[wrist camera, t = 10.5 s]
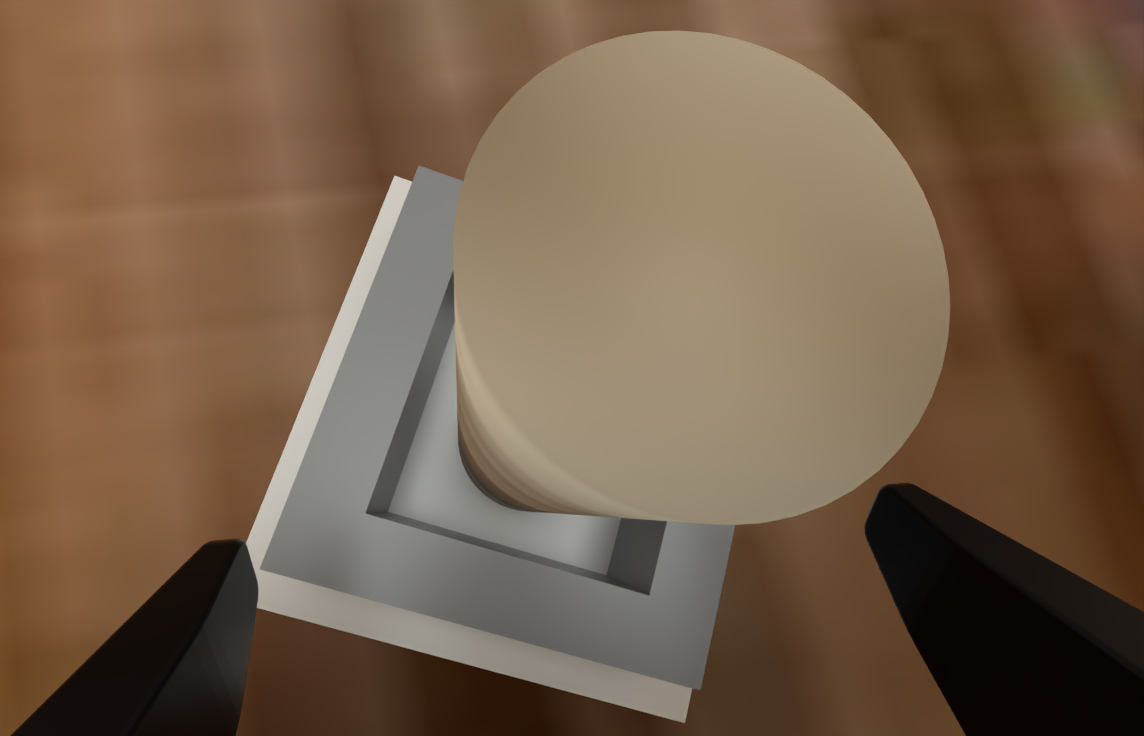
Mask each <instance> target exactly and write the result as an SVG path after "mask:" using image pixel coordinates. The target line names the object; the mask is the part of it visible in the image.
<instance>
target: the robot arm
mask: <svg viewBox="0 0 1144 736" xmlns="http://www.w3.org/2000/svg"><path fill="white" fill-rule="evenodd" d="M865 535H866V538H867V541H868V543H869V546H870V548H871V550H872V552H873V555H874V557H875V559H876V561H877V564H878V566H879V568H880V571H881V573H882V575H883V577H884V580H885V582H886V584H887V586H888V589H889V591H890V593H891V595H892V598H893V600H894V602H895V604H896V607H897V609H898V611H899V613H900V616H901V618H902V620H903V622H904V624H905V626H906V628H907V630H908V632H909V634H910V636H911V638H912V640H913V642H914V644H915V646H916V647H917V649H918V651H919V653H920V655H921V656H922V658H923V660H924V662H925V664H926V665H927V667H928V669H929V671H930V672H931V674H932V676H933V678H934V680H935V681H936V683H937V685H938V687H939V689H940V690H941V692H942V694H943V696H944V697H945V699H946V701H947V703H948V705H949V706H950V708H951V710H952V712H953V714H954V715H955V717H956V719H957V721H958V722H959V724H960V726H961V728H962V730H963V731H964V733H965V735H966V736H1144V612H1143V611H1141V610H1139V609H1137V608H1135V607H1134V606H1132V605H1130V604H1128V603H1126V602H1125V601H1123V600H1121V599H1119V598H1117V597H1116V596H1114V595H1112V594H1110V593H1108V592H1107V591H1105V590H1103V589H1101V588H1099V587H1098V586H1096V585H1094V584H1092V583H1090V582H1089V581H1087V580H1085V579H1083V578H1081V577H1079V576H1078V575H1076V574H1074V573H1072V572H1070V571H1069V570H1067V569H1065V568H1063V567H1061V566H1060V565H1058V564H1056V563H1054V562H1052V561H1051V560H1049V559H1047V558H1045V557H1043V556H1042V555H1040V554H1038V553H1036V552H1034V551H1033V550H1031V549H1029V548H1027V547H1025V546H1024V545H1022V544H1020V543H1018V542H1016V541H1015V540H1013V539H1011V538H1009V537H1007V536H1006V535H1004V534H1002V533H1000V532H998V531H997V530H995V529H993V528H991V527H989V526H988V525H986V524H984V523H982V522H980V521H979V520H977V519H975V518H973V517H971V516H970V515H968V514H966V513H964V512H962V511H961V510H959V509H957V508H955V507H953V506H952V505H950V504H948V503H946V502H944V501H943V500H941V499H939V498H937V497H935V496H934V495H932V494H930V493H928V492H926V491H925V490H923V489H921V488H919V487H917V486H915V485H913V484H910V483H899V484H887V485H884V486H883V487H882V488H881V489H880V490H879V492H878V494H877V496H876V498H875V501H874V503H873V505H872V507H871V510H870V512H869V514H868V517H867V519H866V522H865ZM257 603H258V581H257V577H256V574H255V571H254V567H253V564H252V561H251V557H250V554H249V551H248V547H247V545H246V543H245V542H244V541H243V540H242V539H227V540H215V541H210V542H207V543H206V544H204V545H203V546H202V547H201V548H200V549H199V550H198V551H197V552H196V553H195V554H194V555H193V556H192V557H190V558H189V559H188V560H187V561H186V562H185V563H184V564H183V565H182V566H181V567H180V568H179V569H178V570H177V571H176V572H175V573H174V574H173V575H172V576H171V577H170V578H169V579H168V580H167V581H166V582H165V583H164V584H163V585H162V586H161V587H160V588H159V589H158V590H157V591H156V592H155V593H154V594H153V595H152V596H151V597H150V598H149V599H148V600H147V601H146V602H145V603H144V604H143V605H142V606H141V607H140V608H139V609H138V610H137V611H136V612H135V613H134V614H133V615H132V616H131V617H130V618H129V619H128V620H127V621H126V622H125V623H124V624H123V625H122V626H121V627H120V628H119V629H118V630H117V631H116V632H115V633H114V634H113V635H112V636H111V637H110V638H109V639H108V640H107V641H106V642H105V643H104V644H103V645H102V646H101V647H100V648H99V649H97V650H96V651H95V652H94V653H93V654H92V655H91V656H90V657H89V658H88V659H87V660H86V661H85V662H84V663H83V664H82V665H81V666H80V667H79V668H78V669H77V670H76V671H75V672H74V673H73V674H72V675H71V676H70V677H69V678H68V679H67V680H66V681H65V682H64V683H63V684H62V685H61V686H60V687H59V688H58V689H57V690H56V691H55V692H54V693H53V694H52V695H51V696H50V697H49V698H48V699H47V700H46V701H45V702H44V703H43V704H42V705H41V706H40V707H39V708H38V709H37V710H36V711H35V712H34V713H33V714H32V715H31V716H30V717H29V718H28V719H27V720H26V721H25V722H24V723H23V724H22V725H21V726H20V727H19V728H18V729H17V730H16V731H15V732H14V733H13V734H12V735H11V736H236V731H237V727H238V723H239V719H240V713H241V707H242V701H243V695H244V688H245V682H246V675H247V669H248V662H249V655H250V649H251V642H252V636H253V629H254V622H255V616H256V609H257Z"/></svg>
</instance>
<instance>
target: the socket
mask: <svg viewBox="0 0 1144 736" xmlns="http://www.w3.org/2000/svg"><path fill="white" fill-rule="evenodd" d="M462 184H463V181H461V180H459V179H456V178H453V177H450V176H447V175H444V174H441V173H438V172H436V171H433V170H430V169H427V168H424V167H421V166H418V169H417V171H416V174H415V176H414V179H413V181H412V182H411V181H408V180H405V179H402V178H399V177H397V176H394V178H393V181H392V183H391V186H390V188H389V191H388V193H387V196H386V198H385V201H384V203H383V206H382V208H381V211H380V213H379V216H378V218H377V221H376V223H375V226H374V228H373V230H372V233H371V235H370V238H369V240H368V243H367V245H366V248H365V250H364V253H363V255H362V258H361V260H360V263H359V265H358V268H357V270H356V273H355V275H354V277H353V280H352V282H351V285H350V287H349V290H348V292H347V295H346V297H345V300H344V302H343V305H342V307H341V310H340V312H339V315H338V317H337V320H336V322H335V325H334V327H333V329H332V332H331V334H330V337H329V339H328V342H327V344H326V347H325V349H324V352H323V354H322V357H321V359H320V362H319V364H318V367H317V369H316V372H315V374H314V376H313V379H312V381H311V384H310V386H309V389H308V391H307V394H306V396H305V399H304V401H303V404H302V406H301V409H300V411H299V414H298V416H297V419H296V421H295V424H294V426H293V428H292V431H291V433H290V436H289V438H288V441H287V443H286V446H285V448H284V451H283V453H282V456H281V458H280V461H279V463H278V466H277V468H276V471H275V473H274V475H273V478H272V480H271V483H270V485H269V488H268V490H267V493H266V495H265V498H264V500H263V503H262V505H261V508H260V510H259V513H258V515H257V518H256V520H255V523H254V525H253V527H252V530H251V532H250V535H249V537H248V540H247V542H246V545H247V547H248V551H249V554H250V557H251V561H252V564H253V567H254V571H255V574H256V577H257V581H258V603H257V608H259V609H263V610H267V611H270V612H274V613H278V614H282V615H285V616H289V617H293V618H296V619H300V620H304V621H308V622H311V623H315V624H319V625H322V626H326V627H330V628H334V629H337V630H341V631H345V632H348V633H352V634H356V635H360V636H363V637H367V638H371V639H374V640H378V641H382V642H386V643H389V644H393V645H397V646H400V647H404V648H408V649H412V650H415V651H419V652H423V653H426V654H430V655H434V656H438V657H441V658H445V659H449V660H452V661H456V662H460V663H464V664H467V665H471V666H475V667H478V668H482V669H486V670H489V671H493V672H497V673H501V674H504V675H508V676H512V677H515V678H519V679H523V680H527V681H530V682H534V683H538V684H541V685H545V686H549V687H553V688H556V689H560V690H564V691H567V692H571V693H575V694H579V695H582V696H586V697H590V698H593V699H597V700H601V701H605V702H608V703H612V704H616V705H619V706H623V707H627V708H631V709H634V710H638V711H642V712H645V713H649V714H653V715H657V716H660V717H664V718H668V719H671V720H675V721H679V722H683V723H685V720H686V715H687V711H688V706H689V701H690V697H691V692H692V689H696V690H699V691H700V690H701V685H702V681H703V676H704V671H705V666H706V662H707V657H708V652H709V647H710V643H711V638H712V633H713V628H714V624H715V619H716V614H717V609H718V605H719V600H720V595H721V591H722V586H723V581H724V576H725V572H726V567H727V562H728V557H729V553H730V548H731V543H732V538H733V534H734V529H735V525H716V524H701V523H687V522H673V521H658V520H644V519H629V518H615V517H600V516H586V515H571V514H557V513H542V512H528V511H519V510H514V509H510V508H507V507H504V506H502V505H500V504H498V503H496V502H494V501H492V500H491V499H489V498H488V497H487V496H485V495H484V494H483V493H482V492H481V491H480V490H479V489H478V488H477V487H476V486H475V485H474V483H473V482H472V481H471V479H470V478H469V476H468V474H467V473H466V471H465V468H464V466H463V464H462V461H461V457H460V454H459V447H458V421H457V383H456V345H455V308H454V270H453V232H454V224H455V217H456V210H457V203H458V198H459V195H460V191H461V188H462Z"/></svg>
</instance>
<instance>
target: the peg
mask: <svg viewBox="0 0 1144 736" xmlns="http://www.w3.org/2000/svg"><path fill="white" fill-rule="evenodd" d="M453 270H454V308H455V345H456V383H457V421H458V447H459V454H460V457H461V461H462V464H463V466H464V468H465V471H466V473H467V474H468V476H469V478H470V479H471V481H472V482H473V483H474V485H475V486H476V487H477V488H478V489H479V490H480V491H481V492H482V493H483V494H484V495H485V496H487V497H488V498H489V499H491V500H492V501H494V502H496V503H498V504H500V505H502V506H504V507H507V508H510V509H514V510H519V511H528V512H542V513H557V514H571V515H586V516H600V517H615V518H629V519H644V520H658V521H673V522H687V523H701V524H716V525H739V524H757V523H765V522H770V521H775V520H780V519H785V518H789V517H794V516H797V515H800V514H803V513H805V512H808V511H811V510H814V509H816V508H819V507H822V506H825V505H827V504H828V503H830V502H832V501H834V500H836V499H838V498H839V497H841V496H843V495H845V494H847V493H849V492H850V491H852V490H854V489H855V488H857V487H858V486H859V485H861V484H862V483H863V482H864V481H866V480H867V479H868V478H870V477H871V476H872V475H874V474H875V473H876V472H878V471H879V470H880V469H881V468H882V467H883V466H884V465H885V464H886V463H887V462H888V461H889V460H890V458H891V457H892V456H893V455H894V454H895V453H896V452H897V451H898V450H899V449H900V448H901V447H902V445H903V444H904V443H905V441H906V440H907V438H908V437H909V436H910V434H911V433H912V431H913V430H914V429H915V427H916V426H917V424H918V423H919V421H920V419H921V417H922V415H923V413H924V411H925V409H926V407H927V405H928V403H929V401H930V400H931V398H932V395H933V392H934V390H935V387H936V384H937V381H938V378H939V375H940V372H941V370H942V366H943V361H944V356H945V351H946V346H947V341H948V332H949V318H950V296H949V278H948V272H947V266H946V261H945V255H944V249H943V246H942V242H941V239H940V236H939V232H938V229H937V226H936V222H935V219H934V216H933V214H932V212H931V209H930V207H929V205H928V202H927V200H926V198H925V195H924V193H923V191H922V189H921V187H920V185H919V184H918V182H917V180H916V178H915V176H914V175H913V173H912V171H911V169H910V168H909V166H908V164H907V163H906V161H905V160H904V158H903V157H902V156H901V154H900V153H899V151H898V150H897V149H896V147H895V146H894V144H893V143H892V142H891V140H890V139H889V138H888V136H887V135H886V134H885V133H884V132H883V131H882V130H881V129H880V127H879V126H878V125H877V124H876V123H875V122H874V121H873V120H872V118H871V117H870V116H869V115H868V114H867V113H866V112H864V111H863V110H862V109H861V108H860V107H859V106H858V105H857V104H856V103H855V102H854V101H853V100H851V99H850V98H849V97H848V96H847V95H846V94H844V93H843V92H842V91H840V90H839V89H838V88H836V87H835V86H834V85H832V84H831V83H830V82H828V81H827V80H826V79H824V78H823V77H821V76H820V75H818V74H816V73H815V72H813V71H811V70H809V69H808V68H806V67H804V66H803V65H801V64H799V63H798V62H796V61H794V60H791V59H789V58H787V57H785V56H783V55H780V54H778V53H776V52H774V51H772V50H769V49H767V48H764V47H761V46H758V45H755V44H752V43H749V42H746V41H743V40H739V39H735V38H730V37H725V36H720V35H715V34H711V33H700V32H689V31H653V32H645V33H638V34H632V35H625V36H620V37H617V38H613V39H610V40H606V41H603V42H599V43H596V44H593V45H590V46H588V47H586V48H584V49H581V50H579V51H577V52H575V53H572V54H570V55H568V56H566V57H564V58H562V59H561V60H559V61H558V62H556V63H554V64H553V65H551V66H550V67H548V68H546V69H545V70H543V71H541V72H540V73H539V74H538V75H536V76H535V77H534V78H533V79H532V80H530V81H529V82H528V83H527V84H526V85H525V86H523V87H522V88H521V89H520V90H519V91H517V93H516V94H515V95H514V96H513V97H512V98H511V99H510V100H509V102H508V103H507V104H506V105H505V106H504V107H503V108H502V109H501V111H500V112H499V113H498V114H497V115H496V117H495V118H494V120H493V121H492V123H491V124H490V126H489V128H488V129H487V131H486V132H485V134H484V135H483V137H482V138H481V140H480V142H479V144H478V146H477V148H476V150H475V153H474V155H473V157H472V159H471V161H470V164H469V166H468V168H467V171H466V174H465V177H464V181H463V184H462V188H461V191H460V195H459V198H458V203H457V210H456V217H455V224H454V232H453Z"/></svg>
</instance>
